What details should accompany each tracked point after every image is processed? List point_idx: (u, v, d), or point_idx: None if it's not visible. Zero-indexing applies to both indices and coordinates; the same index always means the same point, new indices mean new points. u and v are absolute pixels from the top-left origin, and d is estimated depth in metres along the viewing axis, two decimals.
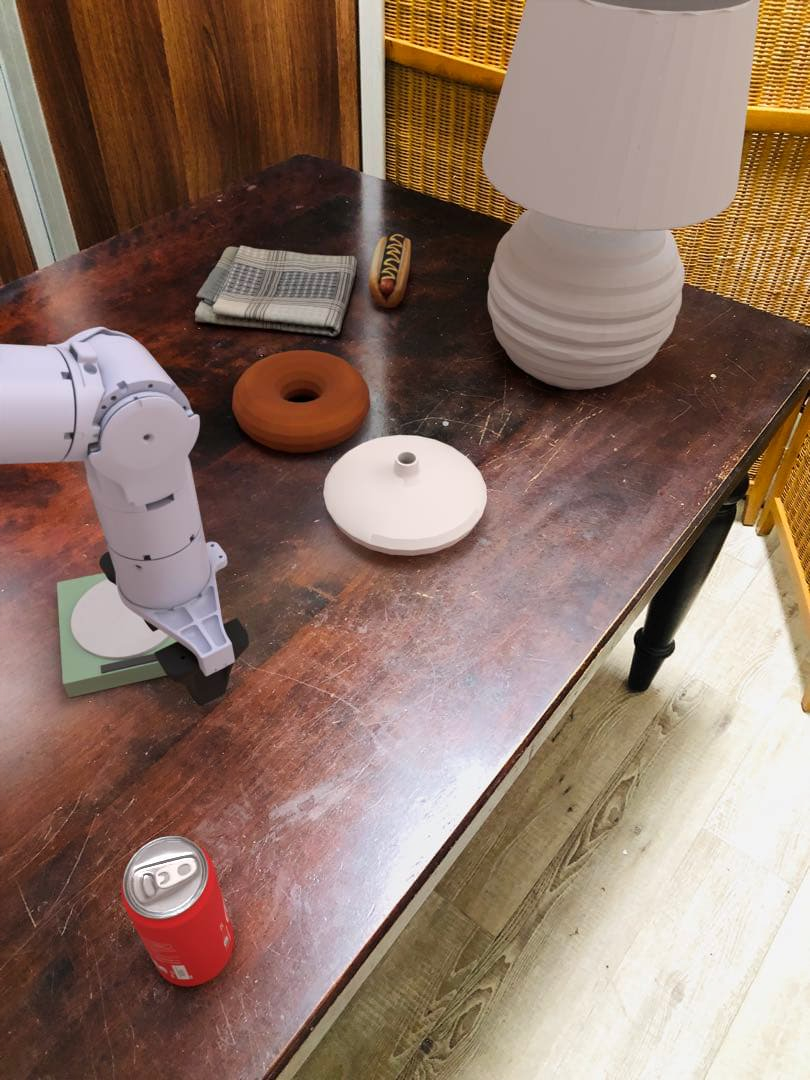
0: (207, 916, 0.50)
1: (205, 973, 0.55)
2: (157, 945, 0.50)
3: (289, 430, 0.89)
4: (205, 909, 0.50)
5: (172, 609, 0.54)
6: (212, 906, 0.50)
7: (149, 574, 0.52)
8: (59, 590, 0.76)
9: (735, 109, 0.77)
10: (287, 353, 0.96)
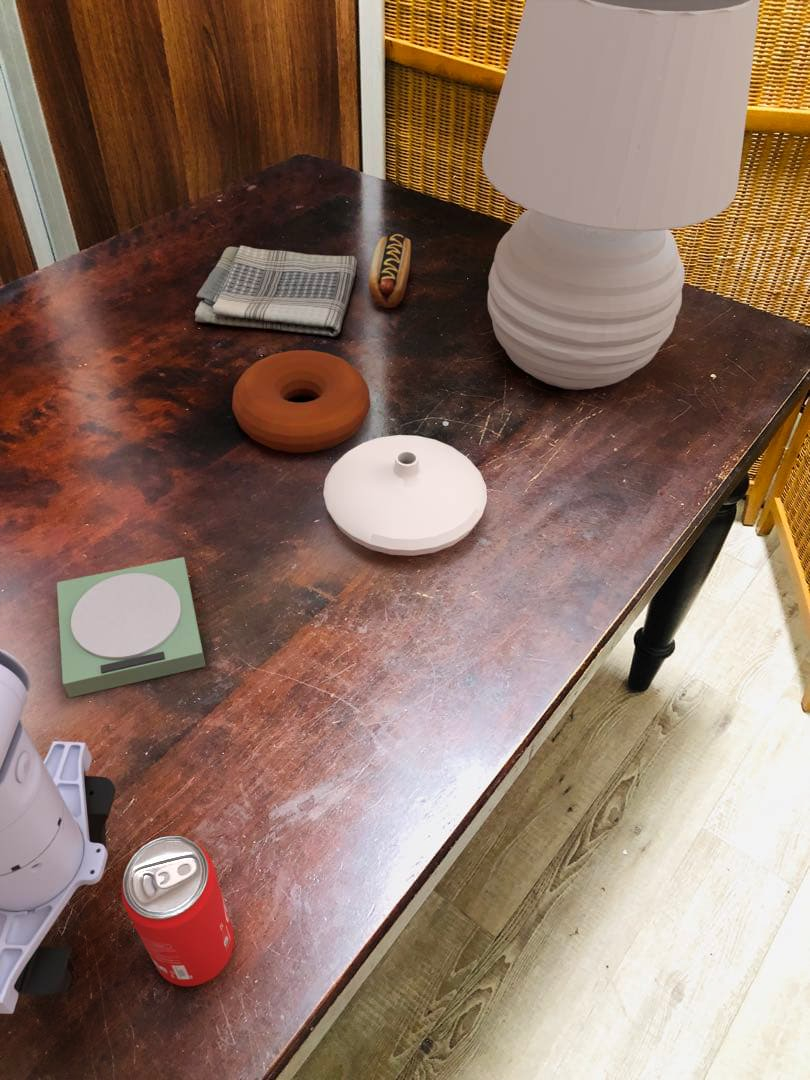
0: (206, 916, 0.50)
1: (205, 973, 0.55)
2: (157, 945, 0.50)
3: (289, 430, 0.89)
4: (205, 909, 0.50)
5: None
6: (212, 906, 0.50)
7: None
8: (59, 590, 0.76)
9: (735, 109, 0.77)
10: (287, 353, 0.96)
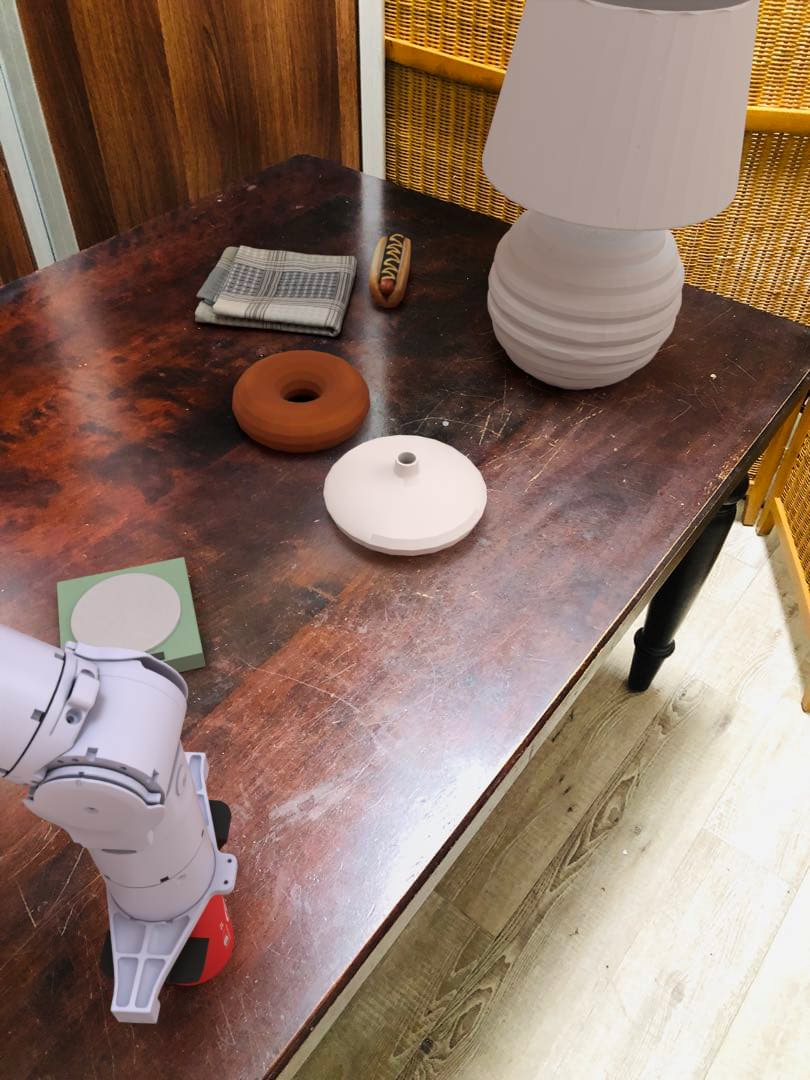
0: (207, 916, 0.50)
1: (205, 972, 0.55)
2: None
3: (289, 430, 0.89)
4: (205, 908, 0.50)
5: (135, 920, 0.47)
6: (212, 905, 0.50)
7: (111, 887, 0.45)
8: (59, 590, 0.76)
9: (735, 109, 0.77)
10: (287, 353, 0.96)
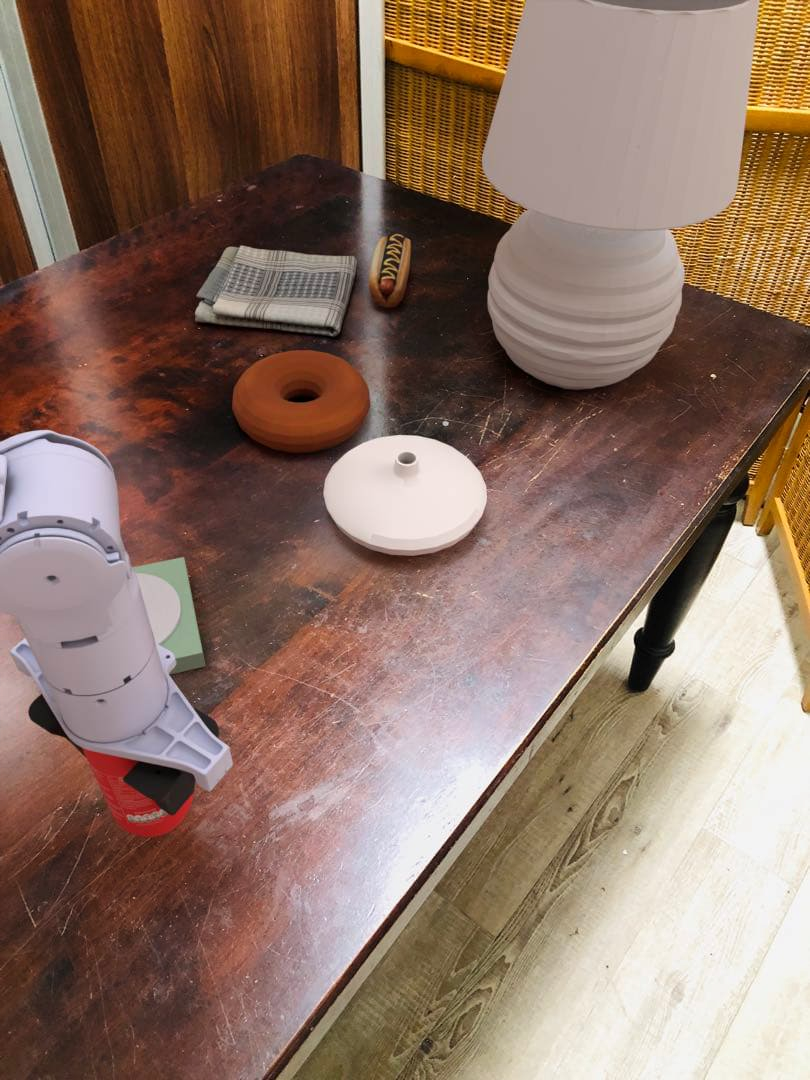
0: None
1: None
2: None
3: (289, 430, 0.89)
4: None
5: (143, 733, 0.47)
6: None
7: (115, 704, 0.44)
8: None
9: (735, 109, 0.77)
10: (287, 353, 0.96)
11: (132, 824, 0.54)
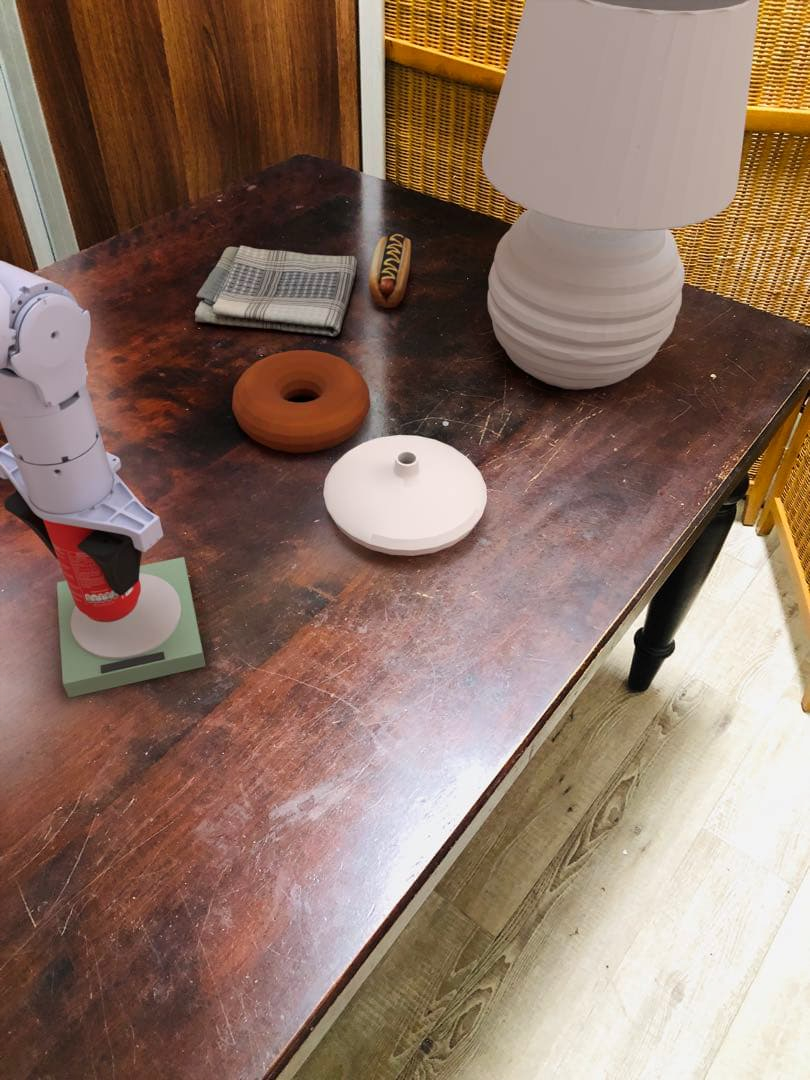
0: None
1: None
2: None
3: (289, 430, 0.89)
4: None
5: (92, 508, 0.61)
6: None
7: (69, 476, 0.58)
8: (59, 590, 0.76)
9: (735, 109, 0.77)
10: (287, 353, 0.96)
11: (90, 604, 0.68)
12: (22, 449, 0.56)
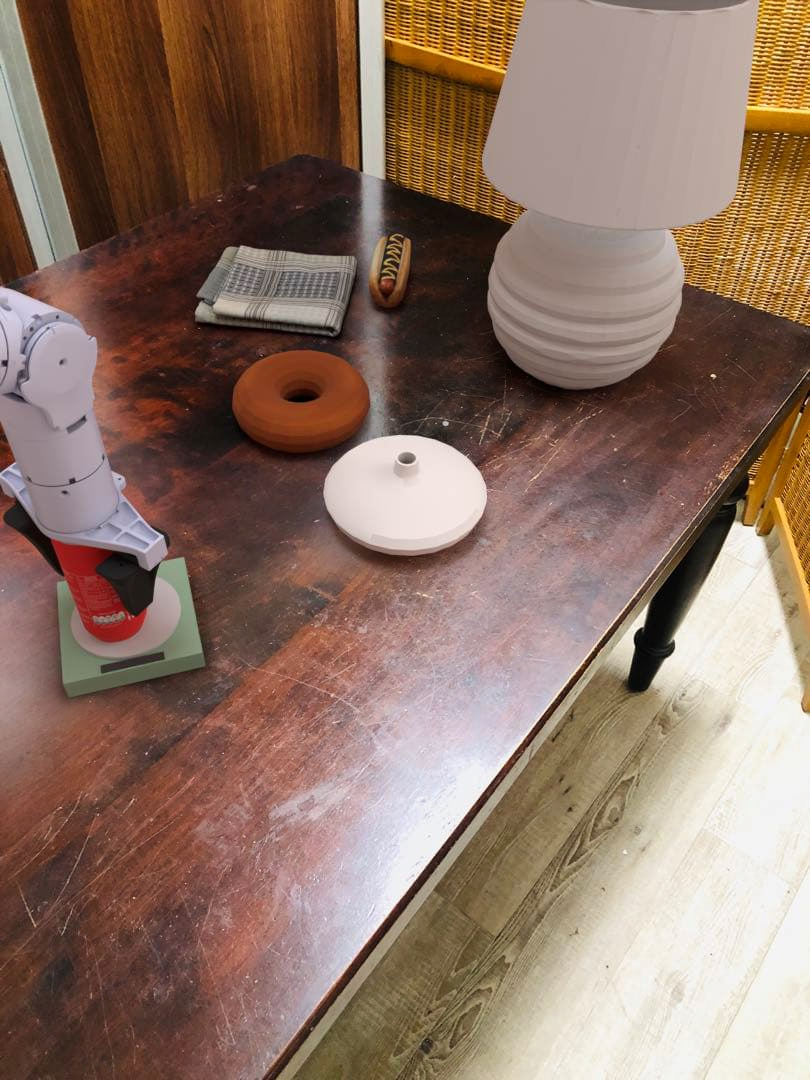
0: None
1: None
2: None
3: (289, 430, 0.89)
4: None
5: (98, 527, 0.62)
6: None
7: (75, 497, 0.59)
8: (59, 590, 0.76)
9: (735, 109, 0.77)
10: (287, 353, 0.96)
11: (98, 625, 0.70)
12: (30, 471, 0.57)
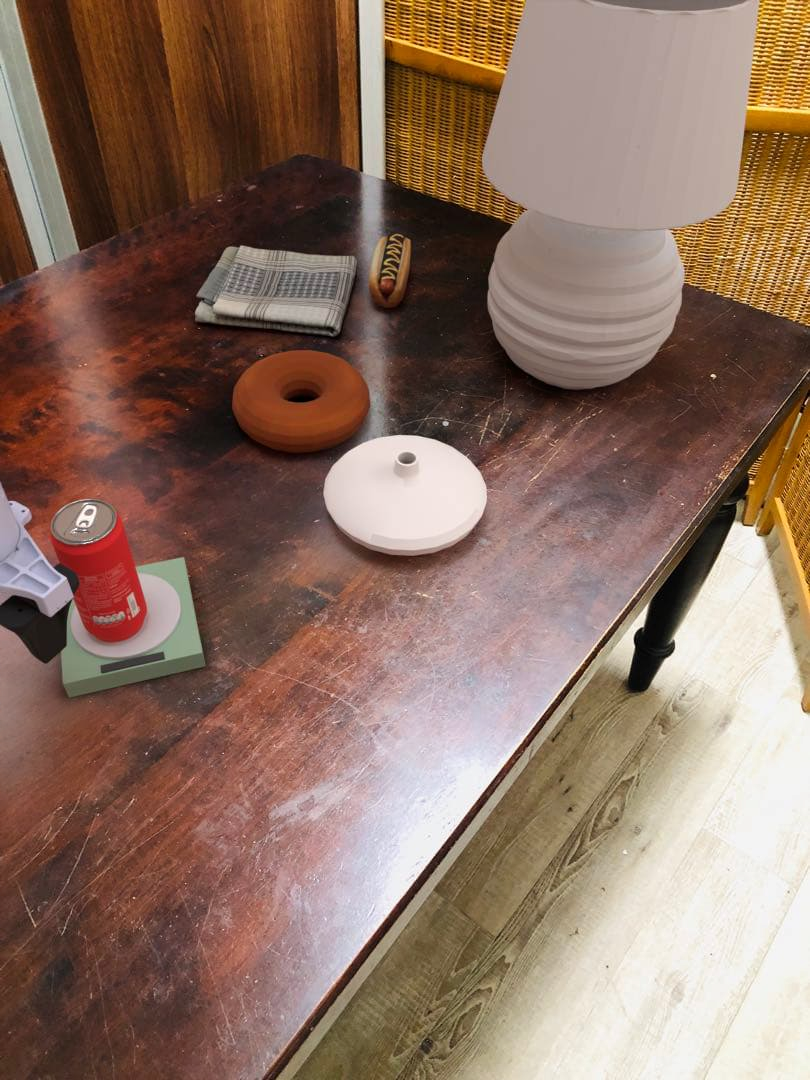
0: None
1: (143, 602, 0.72)
2: (115, 572, 0.66)
3: (289, 430, 0.89)
4: None
5: None
6: None
7: None
8: None
9: (735, 109, 0.77)
10: (287, 353, 0.96)
11: (98, 625, 0.70)
12: None
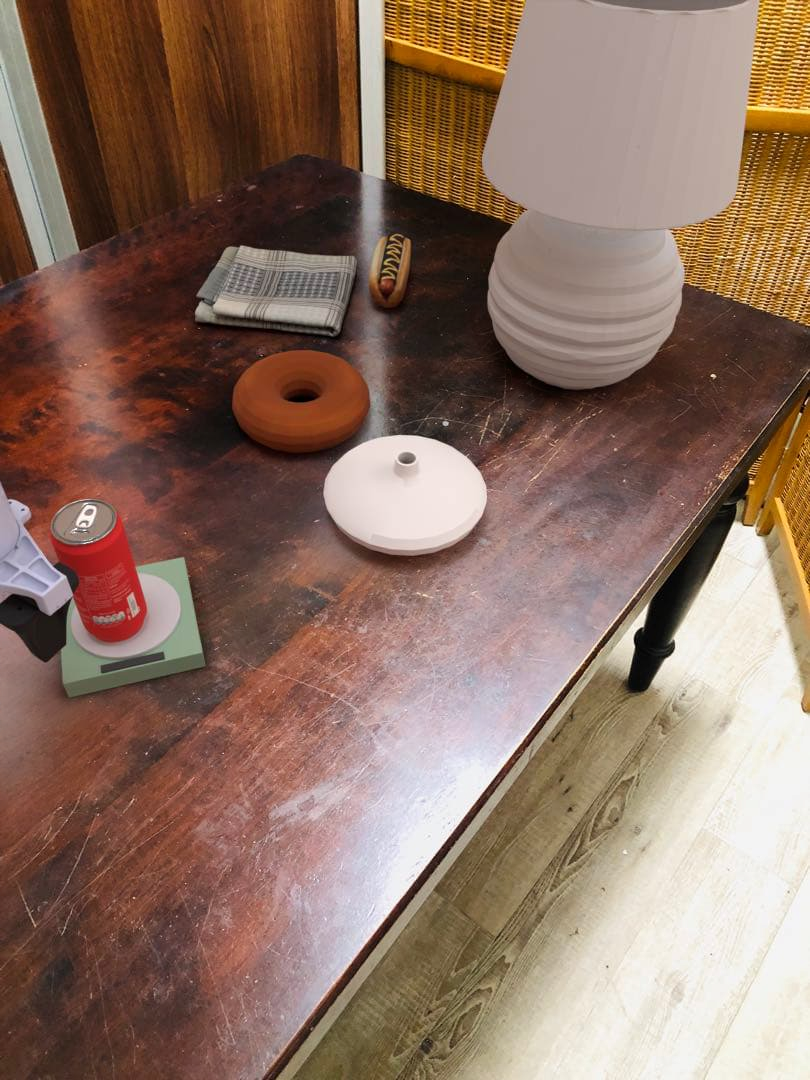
0: None
1: (143, 602, 0.72)
2: (115, 572, 0.66)
3: (289, 430, 0.89)
4: None
5: None
6: None
7: None
8: None
9: (735, 108, 0.77)
10: (287, 353, 0.96)
11: (98, 625, 0.70)
12: None
